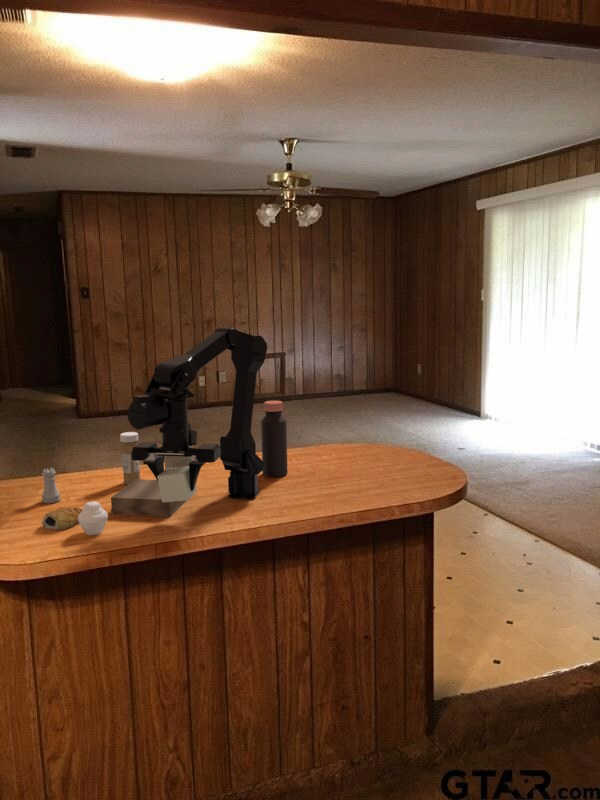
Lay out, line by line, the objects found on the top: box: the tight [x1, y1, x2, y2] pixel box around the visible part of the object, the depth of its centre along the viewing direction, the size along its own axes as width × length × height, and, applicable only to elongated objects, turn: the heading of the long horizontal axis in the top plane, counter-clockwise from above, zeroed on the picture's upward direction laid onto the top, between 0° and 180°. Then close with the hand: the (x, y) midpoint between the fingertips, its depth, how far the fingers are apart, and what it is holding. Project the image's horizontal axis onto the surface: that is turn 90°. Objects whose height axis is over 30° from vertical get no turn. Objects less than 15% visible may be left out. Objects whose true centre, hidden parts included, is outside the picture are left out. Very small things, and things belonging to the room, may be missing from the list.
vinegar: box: [260, 400, 288, 478], centre depth 181 cm, size 7×7×20 cm
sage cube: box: [157, 466, 198, 503], centre depth 148 cm, size 6×6×6 cm
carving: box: [164, 446, 193, 470], centre depth 180 cm, size 6×8×12 cm
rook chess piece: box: [41, 467, 62, 504], centre depth 164 cm, size 4×4×8 cm
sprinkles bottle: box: [119, 431, 141, 486], centre depth 176 cm, size 5×5×14 cm
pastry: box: [41, 507, 83, 531], centre depth 149 cm, size 9×7×4 cm
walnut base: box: [110, 478, 188, 518], centre depth 160 cm, size 14×14×4 cm
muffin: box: [78, 501, 109, 536], centre depth 143 cm, size 6×6×7 cm
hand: (178, 489), depth 148 cm, fingers closed on sage cube, 6 cm apart
